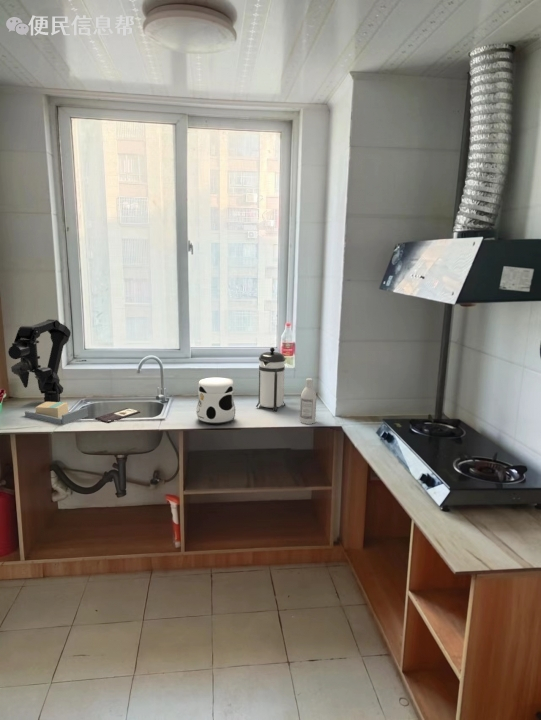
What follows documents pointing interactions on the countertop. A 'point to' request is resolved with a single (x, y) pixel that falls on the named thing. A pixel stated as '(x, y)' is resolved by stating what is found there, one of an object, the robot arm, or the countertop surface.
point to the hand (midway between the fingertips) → (33, 388)
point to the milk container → (215, 400)
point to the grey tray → (64, 418)
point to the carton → (52, 409)
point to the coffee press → (271, 379)
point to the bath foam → (308, 403)
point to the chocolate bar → (117, 415)
